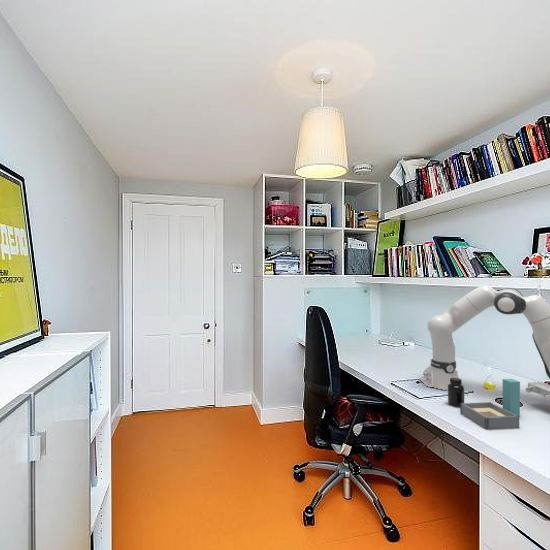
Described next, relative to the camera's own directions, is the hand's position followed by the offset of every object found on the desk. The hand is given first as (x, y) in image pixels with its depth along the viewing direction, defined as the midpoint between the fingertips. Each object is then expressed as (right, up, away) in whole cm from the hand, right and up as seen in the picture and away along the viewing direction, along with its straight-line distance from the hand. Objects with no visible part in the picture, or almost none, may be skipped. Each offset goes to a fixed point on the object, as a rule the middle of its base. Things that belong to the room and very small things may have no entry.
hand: (535, 393), depth 154 cm
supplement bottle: (-29, -9, +11) cm, 32 cm away
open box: (-25, -9, -7) cm, 27 cm away
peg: (-12, -9, -1) cm, 15 cm away
